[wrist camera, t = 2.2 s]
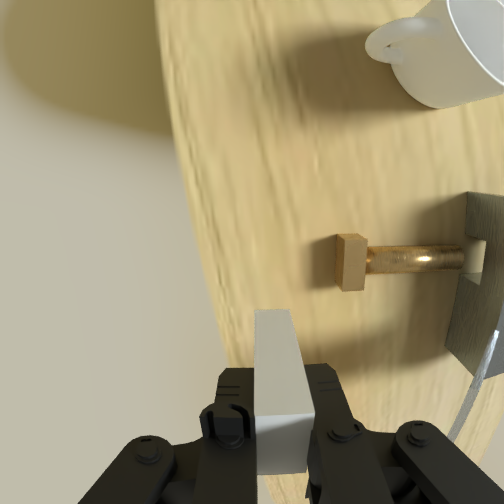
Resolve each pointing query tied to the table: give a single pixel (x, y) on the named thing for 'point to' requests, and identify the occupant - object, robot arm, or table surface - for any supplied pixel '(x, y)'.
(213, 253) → the table surface
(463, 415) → the tab
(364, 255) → the lynch pin
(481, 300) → the block
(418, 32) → the mug
